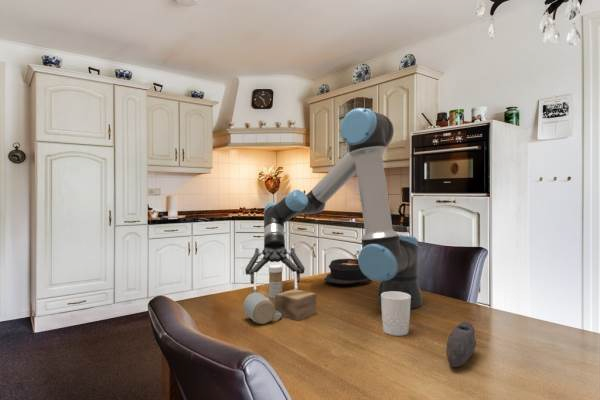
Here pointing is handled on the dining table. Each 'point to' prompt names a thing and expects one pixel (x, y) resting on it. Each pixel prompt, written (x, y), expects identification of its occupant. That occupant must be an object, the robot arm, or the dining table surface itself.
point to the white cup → (395, 312)
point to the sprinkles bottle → (275, 281)
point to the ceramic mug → (260, 308)
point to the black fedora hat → (345, 272)
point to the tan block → (296, 304)
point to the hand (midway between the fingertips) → (275, 291)
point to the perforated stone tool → (460, 344)
